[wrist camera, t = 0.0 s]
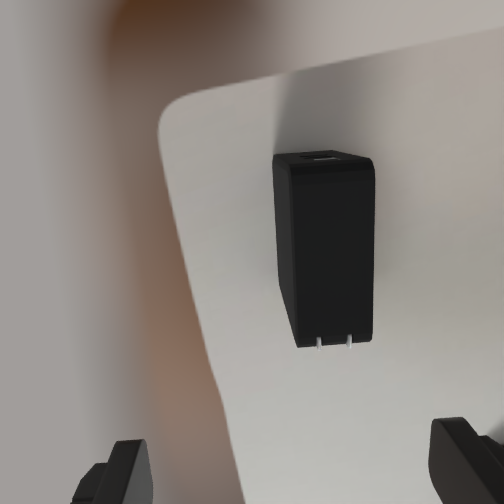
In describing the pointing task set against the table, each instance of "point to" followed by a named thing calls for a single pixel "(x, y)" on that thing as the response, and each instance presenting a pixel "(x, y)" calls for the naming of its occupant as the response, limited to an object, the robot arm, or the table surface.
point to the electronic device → (325, 245)
